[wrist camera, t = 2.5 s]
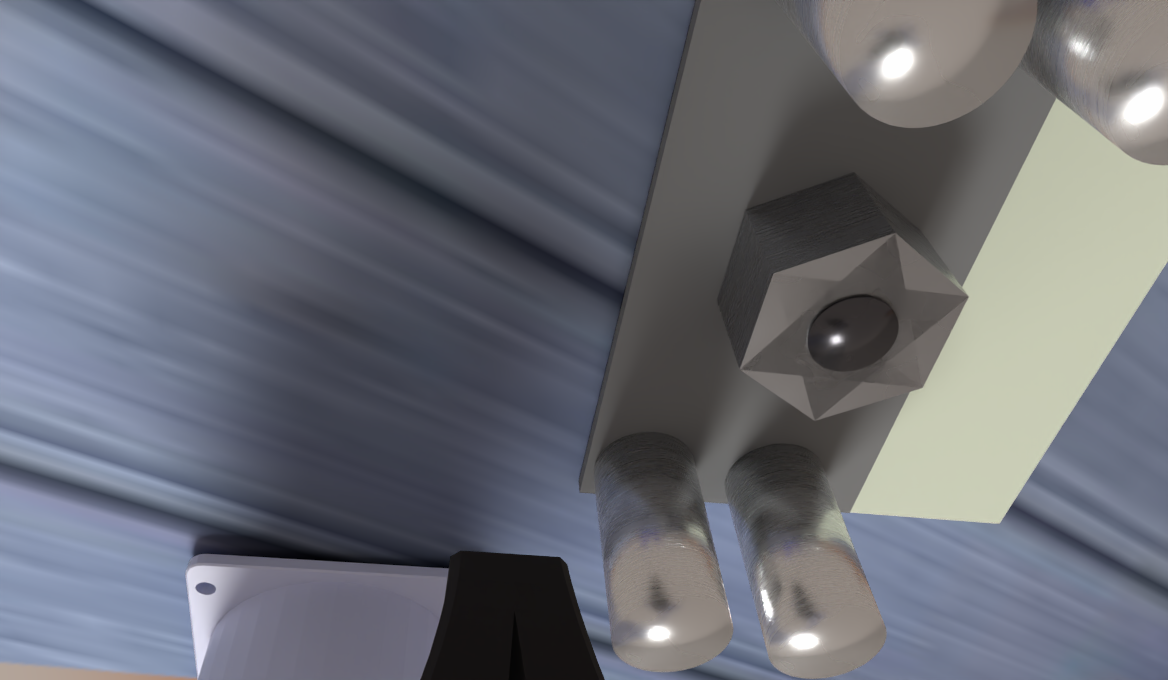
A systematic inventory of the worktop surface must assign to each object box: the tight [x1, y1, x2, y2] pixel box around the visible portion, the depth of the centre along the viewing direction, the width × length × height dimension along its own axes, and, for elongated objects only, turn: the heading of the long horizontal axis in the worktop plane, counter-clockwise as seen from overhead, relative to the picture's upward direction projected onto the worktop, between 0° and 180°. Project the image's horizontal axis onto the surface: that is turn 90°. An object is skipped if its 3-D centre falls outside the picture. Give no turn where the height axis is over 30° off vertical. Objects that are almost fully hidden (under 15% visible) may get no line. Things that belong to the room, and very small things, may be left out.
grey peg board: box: [594, 0, 1168, 679], centre depth 18 cm, size 16×7×5 cm, turn 170°
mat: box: [579, 0, 1168, 524], centre depth 21 cm, size 15×12×1 cm
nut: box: [717, 172, 969, 421], centre depth 19 cm, size 4×5×3 cm
